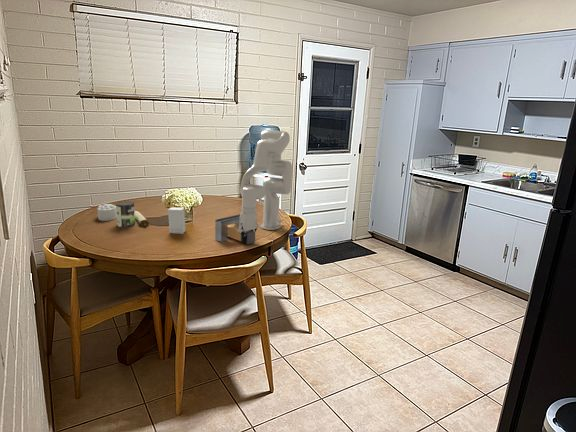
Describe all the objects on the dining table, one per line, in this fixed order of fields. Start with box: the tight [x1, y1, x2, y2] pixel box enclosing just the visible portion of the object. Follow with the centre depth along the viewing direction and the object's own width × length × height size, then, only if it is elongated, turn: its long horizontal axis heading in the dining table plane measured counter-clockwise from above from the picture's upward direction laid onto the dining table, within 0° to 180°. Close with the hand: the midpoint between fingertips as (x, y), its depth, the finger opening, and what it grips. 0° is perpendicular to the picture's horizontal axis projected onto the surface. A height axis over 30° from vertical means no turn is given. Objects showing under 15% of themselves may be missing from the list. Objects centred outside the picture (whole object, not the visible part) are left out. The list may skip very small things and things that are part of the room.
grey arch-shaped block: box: [214, 213, 241, 243], centre depth 226 cm, size 19×5×12 cm, turn 139°
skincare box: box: [167, 206, 186, 235], centre depth 229 cm, size 8×6×15 cm
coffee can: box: [115, 200, 136, 228], centre depth 237 cm, size 10×10×14 cm
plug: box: [227, 224, 256, 245], centre depth 224 cm, size 5×26×6 cm, turn 49°
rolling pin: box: [134, 209, 150, 227], centre depth 247 cm, size 32×6×5 cm, turn 31°
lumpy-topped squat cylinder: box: [96, 203, 117, 222], centre depth 250 cm, size 10×13×9 cm
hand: (248, 241), depth 218 cm, fingers closed on plug, 5 cm apart
